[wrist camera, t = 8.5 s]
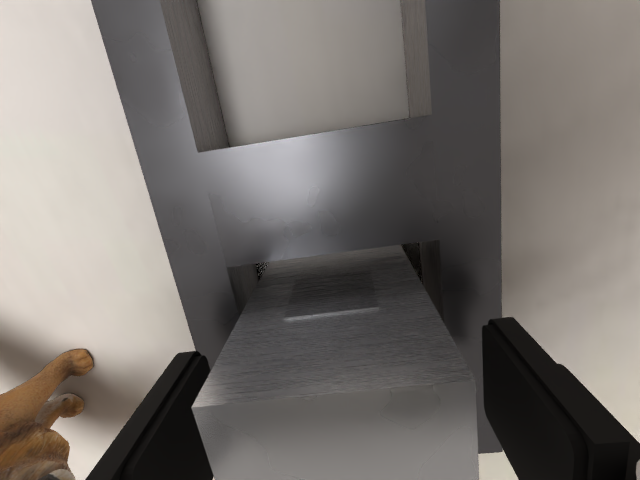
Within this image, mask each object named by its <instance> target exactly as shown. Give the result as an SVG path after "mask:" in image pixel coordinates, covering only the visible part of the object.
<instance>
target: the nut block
mask: <svg viewBox="0 0 640 480" xmlns="http://www.w3.org/2000/svg"><path fill="white" fill-rule="evenodd" d="M191 408H192V411H193V414H194V417H195V420H196V423H197V426H198V429H199V432H200V436H201V439H202V442H203V445H204V448H205V451H206V454H207V457H208V460H209V463H210V466H211V469H212V472H213V475H214V479H215V480H479V464H478V437H477V409H476V382H475V379H474V377H473V375H472V373H471V371H470V370H469V368H468V366H467V364H466V362H465V361H464V359H463V357H462V355H461V353H460V352H459V350H458V348H457V346H456V344H455V342H454V341H453V339H452V337H451V335H450V333H449V332H448V330H447V328H446V326H445V324H444V322H443V321H442V319H441V317H440V315H439V313H438V312H437V310H436V308H435V306H434V304H433V303H432V301H431V299H430V297H429V295H428V293H427V292H426V290H425V288H424V286H423V284H422V283H421V281H420V279H419V277H418V275H417V274H416V272H415V270H414V268H413V266H412V264H411V263H410V261H409V259H408V257H407V255H406V254H405V252H404V250H403V248H402V246H401V245H394V246H386V247H378V248H371V249H363V250H355V251H348V252H340V253H333V254H325V255H317V256H310V257H302V258H294V259H287V260H279V261H271V262H269V263H268V265H267V267H266V268H265V270H264V272H263V274H262V276H261V278H260V280H259V282H258V283H257V285H256V287H255V289H254V291H253V293H252V295H251V297H250V298H249V300H248V302H247V304H246V306H245V308H244V310H243V312H242V313H241V315H240V317H239V319H238V321H237V323H236V325H235V327H234V328H233V330H232V332H231V334H230V336H229V338H228V340H227V342H226V343H225V345H224V347H223V349H222V351H221V353H220V355H219V357H218V359H217V360H216V362H215V364H214V366H213V368H212V370H211V372H210V374H209V375H208V377H207V379H206V381H205V383H204V385H203V387H202V389H201V390H200V392H199V394H198V396H197V398H196V400H195V402H194V404H193V405H192V407H191Z"/></svg>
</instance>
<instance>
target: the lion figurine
mask: <svg viewBox="0 0 640 480" xmlns="http://www.w3.org/2000/svg"><path fill="white" fill-rule="evenodd" d="M92 367H93V362H92V358H91V357H90V355H89V353H88V351H87V350H83V349H76V350H72V351H68V352H65V353H63V354H61V355H60V356H58V357H57V358H56V359H55V360H53V361H52V362H50V363H49V364H48V365H46V366H45V367H44V369H43V370H42V371H41V372H40V373H38V374H37V375H36V376H34V377H33V378H31V379H30V380H28V381H27V382H25V383H23V384H21V385H19V386H17V387H16V388H14V389H12V390H10V391H8V392H6V393H3V394H1V395H0V480H75V476H74V475H73V473H71V470H70V468H69V467H68V464H67V461H68V456H69V450H70V446H69V443H68V441H66V440H65V439H64V438H63V437H62V436H61V435H60V434H59V433H57V432H56V431H54V430H51V429H50V427H51V426H52V425H53V423H54V422H55V421H56V419H57V418H58V417H59V416H61V417H63V418H66V417H74V416H76V415H78V414H80V413H81V412H82V410H83V408H84V401H83V400H82V399H81V398H80V397H78V396H76V395H74V394H63V395H61V396H58V397H56V398H55V399H53V400H51V401H47V400H48V399H49V397H50V396H51V395H52V393H53V392H54V390H55V389H56V388H57V386H58V385H59V384H60V383H61V382H63V381H64V380H65V379H67V378H68V377H69V376H71V375H74V376H82V375H84V374H86V373H87V372H88V371H89V370H91V369H92Z"/></svg>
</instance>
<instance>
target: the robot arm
mask: <svg viewBox="0 0 640 480" xmlns="http://www.w3.org/2000/svg"><path fill="white" fill-rule="evenodd" d="M482 357H483V397H484V410H485V414H486V417H487V419H488V421H489V423H490V425H491V427H492V429H493V431H494V433H495V435H496V437H497V438H498V440H499V442H500V444H501V446H502V448H503V450H504V452H505V454H506V456H507V458H508V460H509V462H510V464H511V465H512V467H513V469H514V471H515V473H516V475H517V477H518V479H519V480H640V443H639V442H638V441H637V440H636V439H635V438H634V437H633V436H632V435H631V434H630V433H629V432H628V431H627V430H626V429H625V428H624V427H623V426H622V425H621V424H620V423H619V422H618V421H617V420H616V419H615V418H614V416H613V415H612V414H611V413H610V412H609V411H608V410H607V409H606V408H605V407H604V406H603V405H602V404H601V403H600V402H599V401H598V400H597V399H596V398H595V397H594V396H593V395H592V394H591V393H590V392H589V391H588V390H587V389H586V388H585V386H584V385H583V384H582V383H581V382H580V381H579V380H578V379H577V378H576V377H575V376H574V375H573V374H572V373H571V372H570V371H569V370H568V369H567V368H566V367H564V366H563V365H561V364H557V363H556V362H555V361H554V360H553V359H552V358H551V357H550V356H549V355H548V354H547V353H546V352H545V351H544V350H543V349H542V348H541V346H540V345H539V344H538V343H537V342H536V341H535V340H534V339H533V338H532V337H531V336H530V335H529V334H528V333H527V332H526V331H525V329H524V328H523V327H522V326H521V325H520V324H519V323H518V322H517V321H516V320H515V319H514V318H513V317H506V318H497V319H490V320H489V321H488V325H483V327H482ZM210 372H211V370H210V367H209V364H208V360H207V358H206V356H204V355H202V356H201V354H200V352H198V351H193V352H183V353H178V354H177V355H176V356H175V357H174V358H173V360H172V361H171V363H170V364H169V365H168V367H167V368H166V369H165V371H164V372H163V374H162V375H161V376H160V378H159V379H158V380H157V382H156V383H155V385H154V386H153V387H152V389H151V390H150V391H149V393H148V394H147V396H146V397H145V398H144V400H143V401H142V402H141V404H140V405H139V407H138V408H137V409H136V411H135V412H134V413H133V415H132V416H131V418H130V419H129V420H128V422H127V423H126V425H125V426H124V427H123V429H122V430H121V431H120V433H119V434H118V436H117V437H116V438H115V440H114V441H113V442H112V444H111V445H110V447H109V448H108V449H107V451H106V452H105V453H104V455H103V456H102V458H101V459H100V460H99V462H98V463H97V464H96V466H95V467H94V469H93V470H92V471H91V473H90V474H89V475H88V477H87V478H86V480H212V479H213V477H214V475H213V472H212V469H211V466H210V463H209V460H208V457H207V454H206V451H205V448H204V445H203V442H202V439H201V436H200V432H199V429H198V426H197V423H196V420H195V417H194V414H193V411H192V408H191V407H192V405H193V404H194V402H195V400H196V398H197V396H198V394H199V392H200V390H201V389H202V387H203V385H204V383H205V381H206V379H207V377H208V375H209V374H210Z"/></svg>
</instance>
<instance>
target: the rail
mask: <svg viewBox="0 0 640 480" xmlns="http://www.w3.org/2000/svg"><path fill="white" fill-rule="evenodd" d="M91 2H92V5H93V9H94V12H95V15H96V19H97V22H98V25H99V29H100V32H101V35H102V39H103V42H104V45H105V49H106V52H107V55H108V59H109V62H110V65H111V69H112V72H113V75H114V79H115V82H116V85H117V89H118V92H119V95H120V99H121V102H122V105H123V109H124V112H125V115H126V119H127V122H128V125H129V129H130V132H131V135H132V139H133V142H134V145H135V149H136V152H137V155H138V159H139V162H140V165H141V169H142V172H143V175H144V179H145V182H146V185H147V189H148V192H149V196H150V199H151V202H152V206H153V209H154V212H155V216H156V219H157V222H158V226H159V229H160V232H161V236H162V239H163V242H164V246H165V249H166V252H167V256H168V259H169V262H170V266H171V269H172V272H173V276H174V279H175V282H176V286H177V289H178V292H179V296H180V299H181V302H182V306H183V309H184V312H185V316H186V319H187V322H188V326H189V329H190V332H191V336H192V339H193V342H194V346H195V349H196V351H198V352H200V354H201V356H202V355H204V356H206V358H207V360H208V364H209V367H210V370H212V368H213V366H214V364H215V362H216V360H217V359H218V357H219V355H220V353H221V351H222V349H223V347H224V345H225V343H226V342H227V340H228V338H229V336H230V334H231V332H232V330H233V328H234V327H235V325H236V323H237V321H238V319H239V317H240V315H241V313H242V312H243V310H244V308H245V306H246V304H247V302H248V300H249V298H250V297H251V295H252V293H253V291H254V289H255V287H256V285H257V283H258V282H259V278H258V273H257V269H256V265H255V264H256V263H264V262H271V261H279V260H287V259H294V258H302V257H310V256H317V255H325V254H333V253H340V252H348V251H355V250H363V249H371V248H378V247H386V246H394V245H401V244H409V243H417V242H419V245H420V258H421V271H422V284H423V286H424V288H425V290H426V292H427V293H428V295H429V297H430V299H431V301H432V303H433V304H434V306H435V308H436V310H437V312H438V313H439V315H440V317H441V319H442V321H443V322H444V324H445V326H446V328H447V330H448V332H449V333H450V335H451V337H452V339H453V341H454V342H455V344H456V346H457V348H458V350H459V352H460V353H461V355H462V357H463V359H464V361H465V362H466V364H467V366H468V368H469V370H470V371H471V373H472V375H473V377H474V379H475V382H476V409H477V437H478V454H480V453H494V452H502V446H501V444H500V442H499V440H498V438H497V437H496V435H495V433H494V431H493V429H492V427H491V425H490V423H489V421H488V419H487V417H486V414H485V410H484V397H483V357H482V327H483V325H488V321H489V320H490V319H497V318H502V305H501V149H500V0H401V13H402V26H403V39H404V51H405V64H406V77H407V90H408V103H409V116H410V118H408V119H402V120H395V121H389V122H383V123H377V124H371V125H365V126H359V127H353V128H347V129H341V130H334V131H328V132H322V133H316V134H310V135H304V136H298V137H292V138H286V139H280V140H273V141H267V142H261V143H255V144H249V145H243V146H237V147H231V148H229V144H228V140H227V135H226V131H225V126H224V122H223V117H222V113H221V108H220V104H219V99H218V95H217V90H216V86H215V82H214V77H213V73H212V68H211V64H210V59H209V55H208V50H207V46H206V41H205V37H204V32H203V28H202V24H201V19H200V15H199V10H198V6H197V1H196V0H91Z"/></svg>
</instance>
